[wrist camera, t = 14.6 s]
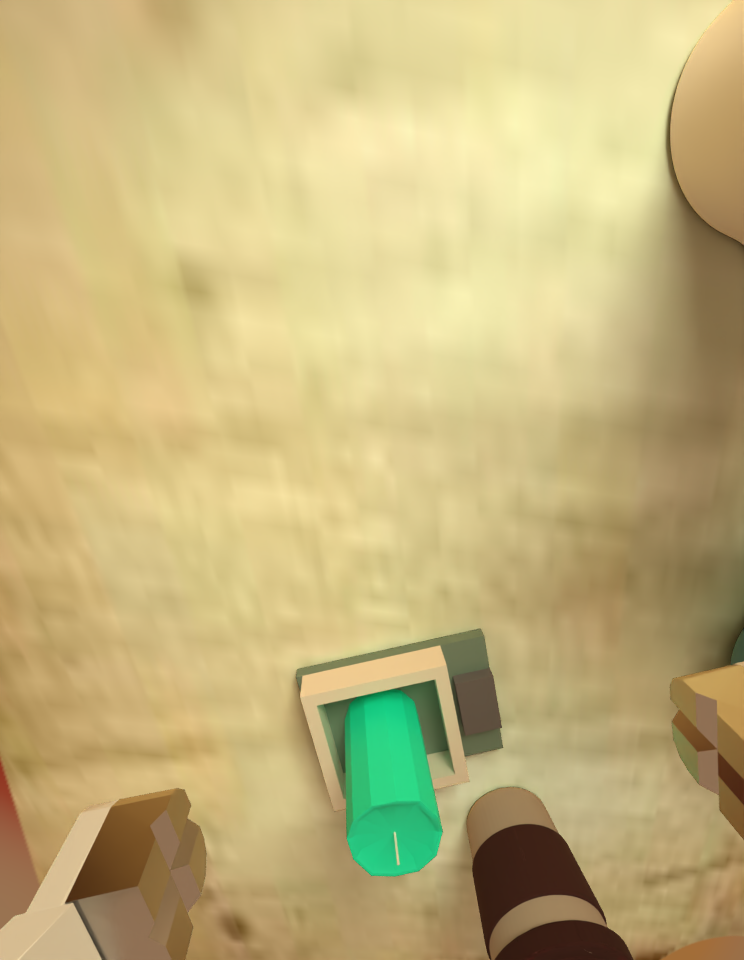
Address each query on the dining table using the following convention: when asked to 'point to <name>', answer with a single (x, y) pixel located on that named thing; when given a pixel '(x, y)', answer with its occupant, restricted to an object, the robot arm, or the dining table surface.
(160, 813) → the robot arm
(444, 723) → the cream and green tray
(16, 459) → the dining table surface
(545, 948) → the coffee cup
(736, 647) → the casserole dish
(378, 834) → the candle
